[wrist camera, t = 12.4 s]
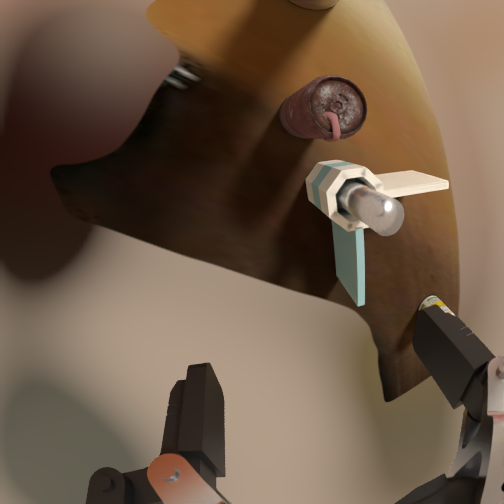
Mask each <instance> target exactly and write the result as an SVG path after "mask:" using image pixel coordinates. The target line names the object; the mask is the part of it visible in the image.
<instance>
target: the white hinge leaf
mask: <svg viewBox="0 0 504 504" xmlns="http://www.w3.org/2000/svg"><path fill="white" fill-rule="evenodd" d="M340 162H344V161H340V160H331V161H324V162H318V163H317V164H316V165H315V167H314V168H313V169H312V171H311V172H310V174H309V175H308V177H307V178H306V179H305V181H306V187H307V194H308V200H309V201H310V202H311V203H313V204H314V198H313V191H312V184H311V183H312V182H313V180H314V179H315V177H316V176H317V174H318V173H319V172H320V170H321V169H322V167H323V166H324V165H326V164H333V163H340ZM356 177H358V178H359V179H361V180H362V181H363V182H364V183H365V186H366V187H369V188H371V189H373V190H376V191H378V192H380V193H383V194H385V195H387V196H389V197H392V198H394V197H400V196H406V195H412V194H418V193H424V192H430V191H436V190H442V189H448V188H449V184H448V181H447V180H444V179H441V178H437V177H434V176H431V175H427V174H424V173H420V172H417V171H413V170H410V171H402V172H394V173H386V174H379V175H374V174H373V173H372V172H370V171H369V170H368V169H367V168H366V167H363V166H360V165H356V164H353V165H346V166H339V167H332V169H331V170H330V172H329V173H328V175H327V176H326V177H325V179H324V180H323V182H322V183H321V184H320V186H319V187H318V188H319V195H320V203H321V210H322V212H323V213H324V214H325V215H327V216H328V217H329V218H330V219H332V220H333V221H334V222H336V223H337V224H338V225H340V226H341V227H342V228H344V229H345V230H346V231H348V232H349V231H354V230H355V228H356V230H357V229H358V230H359V229H363V228H368V227H369V226H367V225H366V224H364V223H363V222H362V221H360V220H359V219H358V218H356V217H355V216H353V215H352V214H348V215H343V216H341V215H340V214H339V213H338V212H337V209H338V208H342V207H340V206H339V205H337V203H336V195H335V194H336V193H337V192H338V190H339V189H340V187H341V186H342V184H343V183H344V182H345V180H346V179H349V180H352V181H354V182H355V179H354V178H356ZM357 227H358V228H357ZM361 227H362V228H361Z"/></svg>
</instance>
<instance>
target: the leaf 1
mask: <svg viewBox="0 0 504 504" xmlns="http://www.w3.org/2000/svg"><path fill="white" fill-rule="evenodd" d="M346 165H353V164H352V163H348V162H340V163H333V164H326V165H324V166H323V167H322V169H321V170H320V172H319V173H318V174H317V176H316V177H315V179H314V180H313V182H312V183H311V184H312V191H313V198H314V205H315V206H316V207H317V208H319V209H320V210H321V203H320V195H319V188H318V187H319V186H320V184H321V183H322V182H323V180H324V179H325V177H326V176H327V175H328V173H329V172H330V170H331V169H332V167H339V166H346ZM354 179H355V182H357V183H359V184H362V185H364V186H365V183H364V182H363V181H362V180H361V179H359V178H358V177H356V178H354ZM321 211H322V210H321ZM337 212H338V213H339V214H340V215H341V216H343V215H348V214H350V213H349V212H348V211H346V210H345V209H343V208H338V209H337ZM331 220H332V219H331ZM357 228H358V227H357ZM361 228H362V227H361ZM332 229H333V240H334V251H335V263H336V276H337V277H338V278H339V280H340V281H341V283H342V284H343V286H344V287H345V288H346V290H347V291H348V293H349V294H350V296H351V297H352V299H353V300H354V302H355V303H356V305H357V306H361V305H365V260H364V234H363V229H359V230H358V229H357V230H356V228H355V230H354V231H349V232H348V231H346V230H345V229H344V228H342V227H341V226H340V225H338V224H337V223H336V222H334V221H333V220H332Z"/></svg>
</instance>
